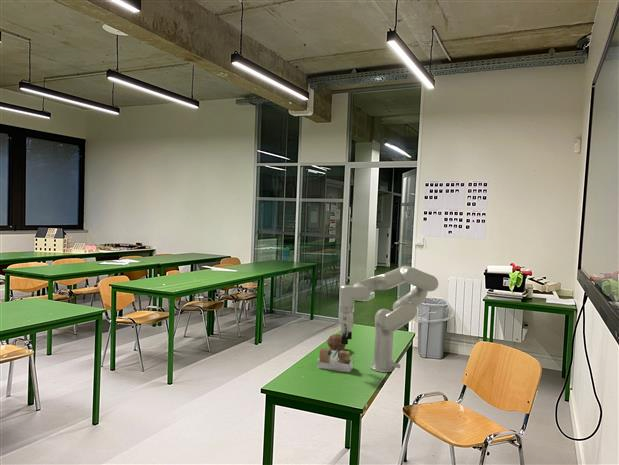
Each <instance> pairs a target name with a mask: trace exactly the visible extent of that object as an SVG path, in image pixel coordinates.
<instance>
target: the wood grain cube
mask: <svg viewBox="0 0 619 465" xmlns="http://www.w3.org/2000/svg"><path fill="white" fill-rule="evenodd" d="M338 351H339V352H338V357H339V362H340V363H347V364H349V359H350V360H351V356H350V355H351V351H349V350H338Z"/></svg>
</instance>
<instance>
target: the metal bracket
mask: <svg viewBox="0 0 619 465" xmlns="http://www.w3.org/2000/svg"><path fill="white" fill-rule="evenodd" d="M328 349H331V348H330V347H329V348H328ZM338 352H339V350H332V353H331V355H330V359H334V360H337V359H338V358H339V357H338ZM319 358H320V357H318V358H317V359H316V362H319Z"/></svg>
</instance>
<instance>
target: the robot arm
mask: <svg viewBox="0 0 619 465" xmlns="http://www.w3.org/2000/svg"><path fill="white" fill-rule="evenodd" d="M405 283H407V284H409V285H412V286H413V288H412V289H411V290H410V291H409V292H408V293H406V294H405V295H403V296H402V297H400V298H398V299H397V300H396V301H395V302H393V304H392V310H390V309H388V308H387V309H386V308H381V309H378V310H377V312H376V313H375V315H374V330H375V331H374V332H375V333H374V352H373V362H372V363H371V364H370V368H371V370H373V371H376V372H379V373H391V372H393V371H395V370H396V369H395V368H397V369H400V368H401V364H399V363H398V362H394V359H393V348H394V346H393V345H394V332H395V331H397V330H399V329H401V328H402V327H404V326H405V325H407V324H409V323H410V322H411V321H413V320H414V319H415V318H416V316H417V314H418V307H419V306H420V305H422V304H423V303H424V301H425V300H426V298H427V295H428V292H434V291H436V290H437V289H438V287H439V280H438V278H437V277H435V275H432V274H430V273H428V272H424V271H422V270H420V269H417V268H416V267H413V266H409V265H402V266H400V267H396V268H395V269H392V270H390V271H387V272H384V273H382V274H377V275H374V276H372V277H367V278H365V279H363V280H360V281H358V282H357V281H356V283H354V284H353V285H351V284H350V285H349V284H343V285H341V286H340V288H339V312H340V313H341V314H340V315H341V317H340V330H341V335H342V344H346V345H349V340H352V339H353V338H352V336H353V334H352V333H353V332H352V331H353V330H354V313H355V301H356V300H357V301H358V300H359V301H365V300H368V299H369V298H370V296H371V292H373V291H386V290H387V291H388V290H391V289H393V288H395V287H398V286H400V285H402V284H405Z"/></svg>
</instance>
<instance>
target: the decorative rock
mask: <svg viewBox="0 0 619 465" xmlns="http://www.w3.org/2000/svg"><path fill="white" fill-rule="evenodd" d="M326 343H327V345H328V346H327V347H329V348H330V349H332V350H334V351H336V350H337V351H339V350H343V351H345V348H346V345H347V344H342V333H336V334H332V335H330V336H329V337H328V338H327V340H326Z"/></svg>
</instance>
